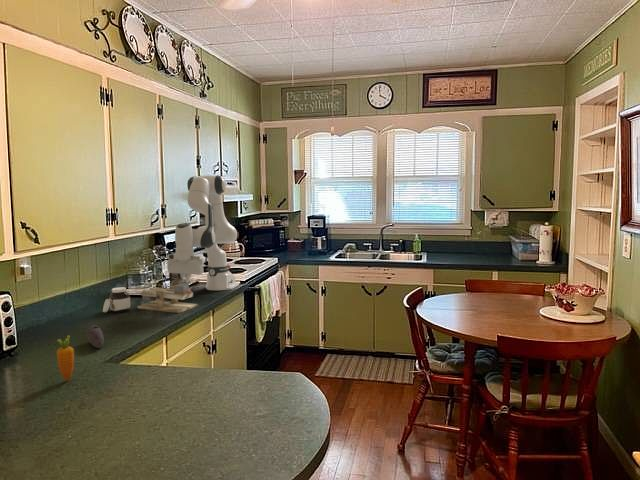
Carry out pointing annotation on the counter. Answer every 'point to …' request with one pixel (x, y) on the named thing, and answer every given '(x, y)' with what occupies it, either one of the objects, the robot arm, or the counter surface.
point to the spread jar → (117, 300)
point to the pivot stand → (167, 304)
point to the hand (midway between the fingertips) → (186, 282)
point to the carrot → (65, 359)
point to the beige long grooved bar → (165, 294)
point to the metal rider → (180, 288)
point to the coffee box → (176, 279)
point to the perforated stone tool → (95, 336)
